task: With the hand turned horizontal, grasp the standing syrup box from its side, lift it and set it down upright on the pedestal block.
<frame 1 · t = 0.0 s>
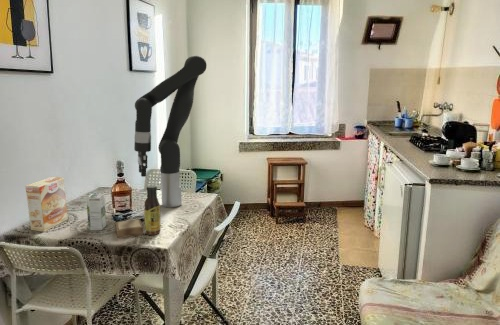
hand: (142, 174, 180), 17 cm above the table, tool pointing down, fingers open, 8 cm apart
syrup box: (97, 228, 159), on the table
pedestal: (129, 231, 156), on the table
coffeecake box: (50, 225, 163), on the table
sauce bottle: (153, 233, 155), on the table
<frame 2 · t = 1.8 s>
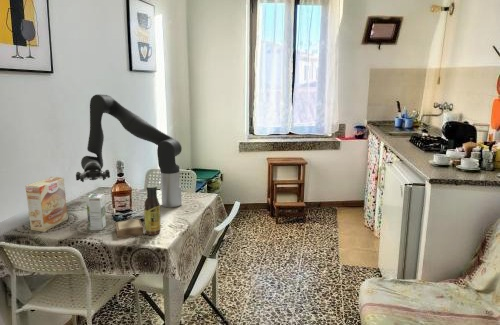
hand: (93, 178, 165), 19 cm above the table, tool horizontal, fingers open, 8 cm apart
nothing on the table moved.
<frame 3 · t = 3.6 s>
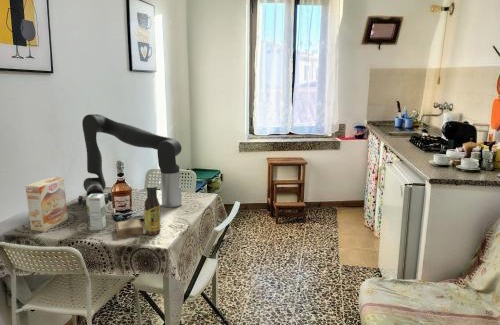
hand: (95, 203, 164), 9 cm above the table, tool horizontal, fingers open, 8 cm apart
nothing on the table moved.
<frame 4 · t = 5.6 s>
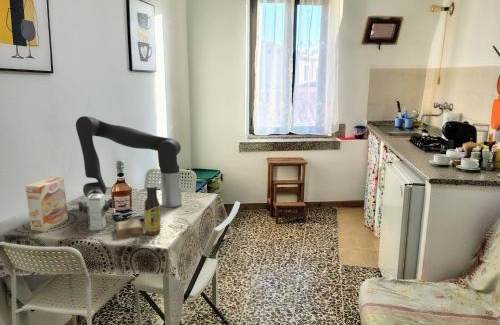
hand: (96, 210, 156), 9 cm above the table, tool horizontal, fingers closed on syrup box, 7 cm apart
syrup box: (97, 228, 159), on the table, touching gripper
everything else where it was.
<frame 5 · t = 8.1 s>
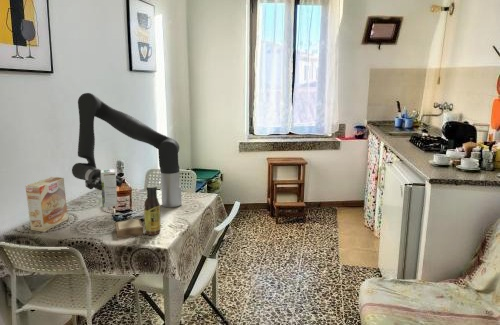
hand: (110, 186, 151), 20 cm above the table, tool horizontal, fingers closed on syrup box, 7 cm apart
syrup box: (110, 205, 155), point 11 cm above the table, touching gripper
everything else where it was.
when the fingers open (13 cm above the table, at t = 10.6 s): syrup box stays where it is, resting on pedestal.
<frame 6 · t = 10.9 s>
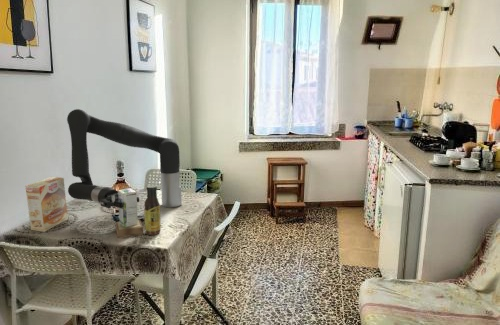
hand: (130, 202, 152), 13 cm above the table, tool horizontal, fingers open, 8 cm apart
syrup box: (128, 224, 155), point 3 cm above the table, touching pedestal
everything else where it was.
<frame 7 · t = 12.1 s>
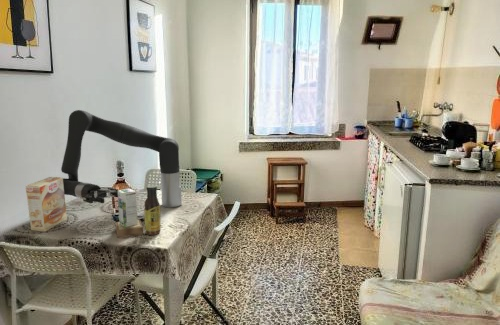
hand: (112, 198, 158), 13 cm above the table, tool horizontal, fingers open, 8 cm apart
nothing on the table moved.
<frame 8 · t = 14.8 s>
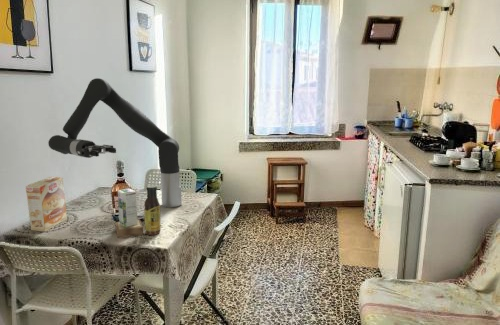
hand: (106, 152, 157), 32 cm above the table, tool horizontal, fingers open, 8 cm apart
nothing on the table moved.
at the end: syrup box inside the target area on the pedestal (0.1 cm from its centre), point 3.1 cm above the pedestal's base; syrup box tilted 0°; the gripper is holding nothing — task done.
